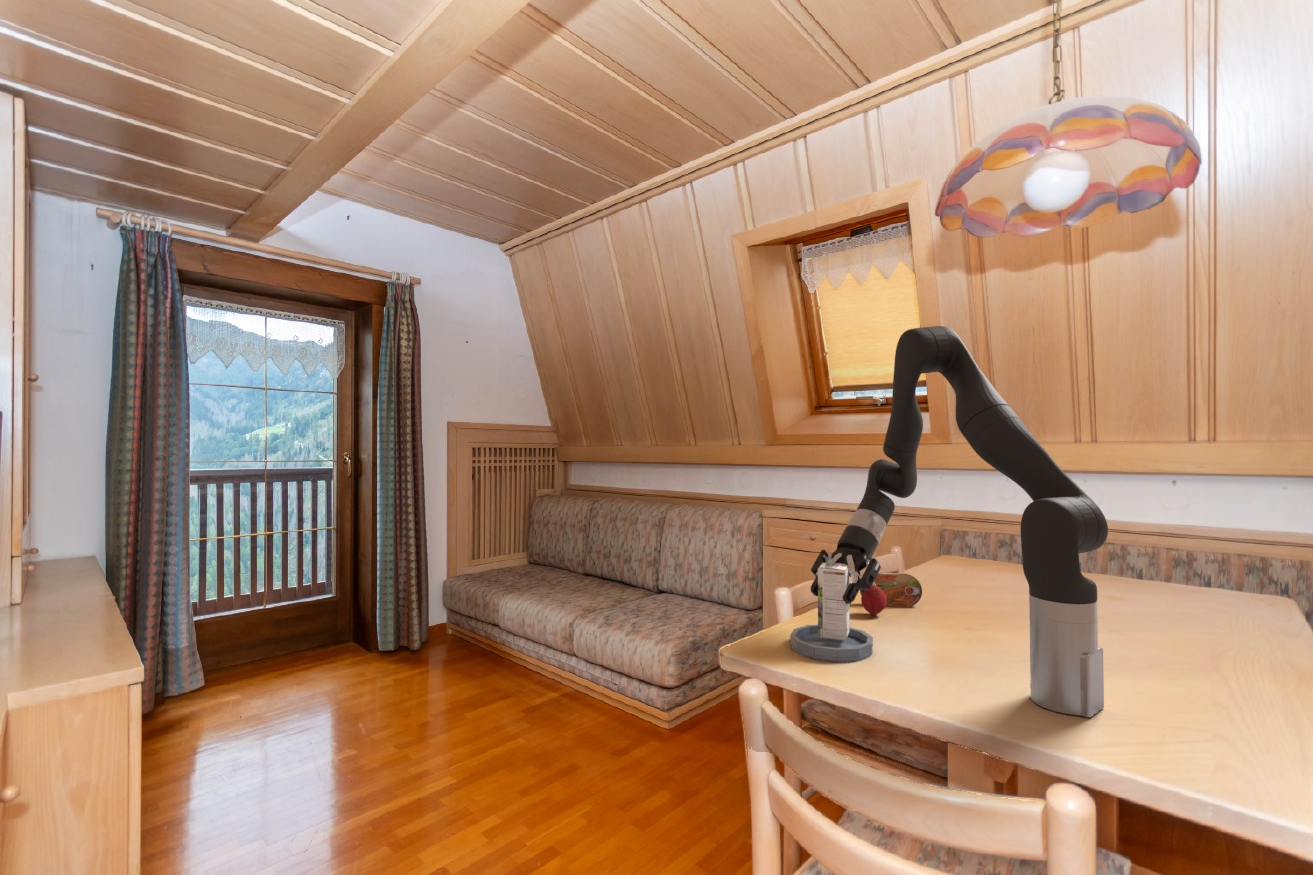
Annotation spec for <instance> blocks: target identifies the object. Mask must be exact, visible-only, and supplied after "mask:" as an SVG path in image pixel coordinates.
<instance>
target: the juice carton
mask: <svg viewBox="0 0 1313 875" xmlns="http://www.w3.org/2000/svg"><path fill="white" fill-rule="evenodd" d="M817 570H818V596H817V625H818V637H820V638H829V639H840V640H847V637H848V634H849V632H850V627H851V626H850V624H851V622H850V619H851V618H850V616H851V613H850V605H851V604H846V603H845V601H844V600H843V595H844V593H845V591H846V589H847V587H848V586H849V584H850V577H849V567H848V565H846V564H841V563H822V564H821V566H820V567H819V568H818V569H817Z"/></svg>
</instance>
